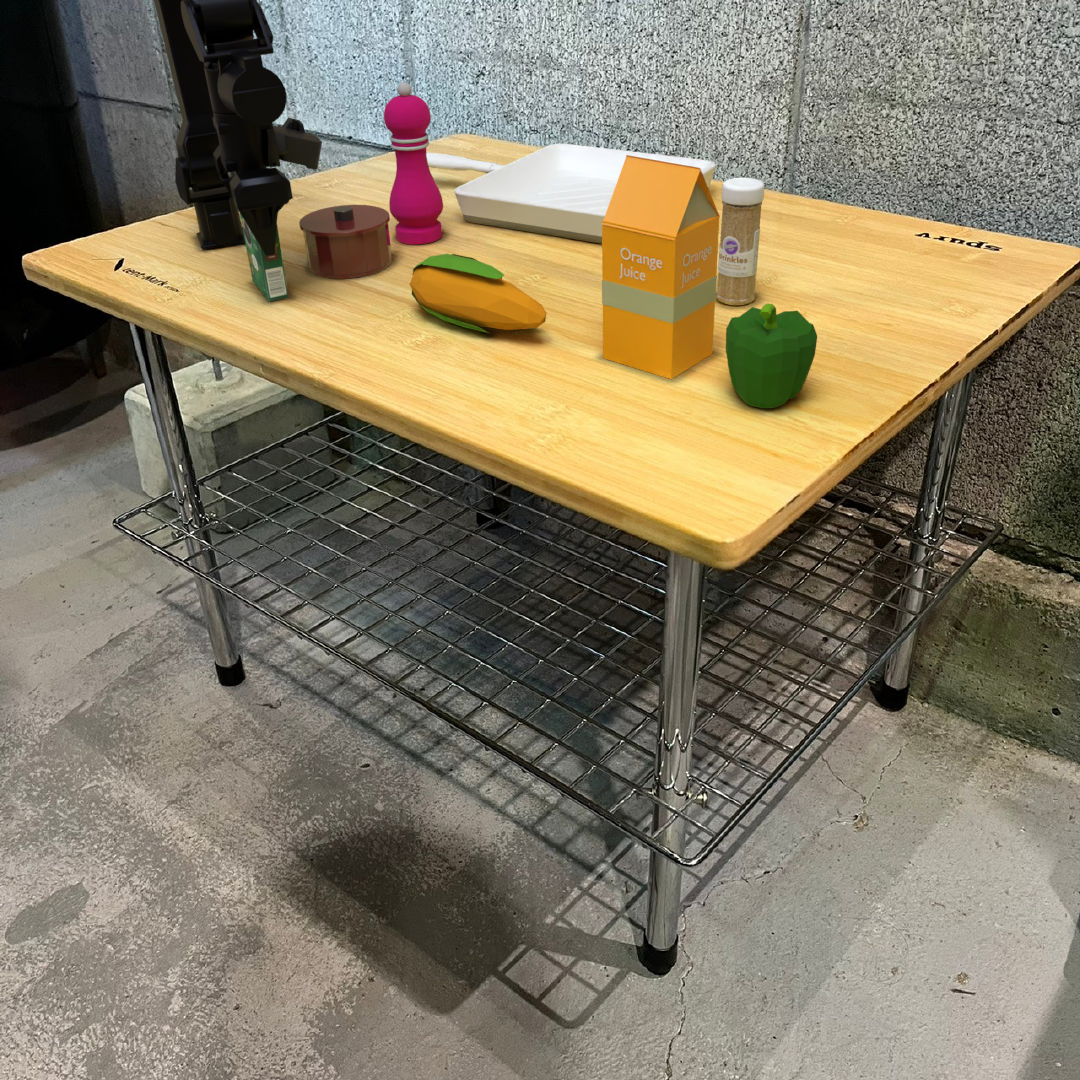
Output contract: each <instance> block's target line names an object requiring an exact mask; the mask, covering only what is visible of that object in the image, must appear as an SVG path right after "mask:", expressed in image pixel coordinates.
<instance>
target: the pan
mask: <svg viewBox="0 0 1080 1080" xmlns="http://www.w3.org/2000/svg"><path fill="white" fill-rule="evenodd" d="M626 155H629V156H635V157H641V158H646V159H652V160H658V161H663V162H669V163H675V164H680V165H686V166H692V167H698V168H700V169H701V172H702V174H703V177H704V179H705V181H706V184H707V186H708V189H709V190H710V186H711V182H712V180H713V177H714V174H715V170H716V167H717V164H716V162H715V161H712V160H707V159H702V158H701V159H699V158H691V157H683V156H675V155H668V154H667V155H666V154H657V153H650V152H649V153H648V152H639V151H632V150H623V149H615V148H607V147H599V146H598V147H597V146H588V145H581V144H573V143H572V144H571V143H563V142H562V143H552V144H548V145H545V146H544V147H541V148H539V149H537V150H534V151H533V152H531V153H528V154H526V155H524V156H522V157H520V158H517V159H516V160H514V161H511V162H509V163H507V164H499V163H498V162H493V161H483V160H477V159H471V158H468V157H463V156H461V155H455V154H448V153H447V154H446V153H438V152H428V151H426V156H427V162H428V166H429V168H431V169H440V170H445V171H456V172H457V171H458V172H462V171H464V172H465V171H474V172H478V173H484V174H483V175H481V176H479V177H476V178H474V179H472V180H469V181H468V182H465V183H463V184H460V185H459V186H457V187H456V188H454V191H453V193H454V195H455V198H456V200H457V204H458V206H459V209H460V212H461V214H462V216H463V218H464V220H465V221H466V222H468V223H471V224H478V225H483V226H489V227H495V228H503V229H508V230H514V231H515V230H516V231H522V232H528V233H533V234H539V235H540V234H541V235H546V236H552V237H553V236H554V237H559V238H565V239H570V240H575V241H576V240H577V241H582V242H588V243H594V244H599V245H602V221H603V220H604V218H605V215H606V212H607V209H608V206H609V204H610V201H611V198H612V195H613V192H614V189H615V187H616V184H617V181H618V178H619V175H620V173H621V170H622V167H623V164H624V161H625V159H626Z"/></svg>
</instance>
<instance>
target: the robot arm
mask: <svg viewBox="0 0 1080 1080" xmlns="http://www.w3.org/2000/svg"><path fill="white" fill-rule="evenodd" d="M153 2H154V7H155V11H156V15H157V19H158V23H159V29H160V31H161V36H162V39H163V40H162V41H163V44H164V48H165V53H166V56H167V61H168V64H169V69H170V73H171V78H172V82H173V85H174V86H173V87H174V90H175V95H176V98H177V103H178V106H179V110H180V115H181V120H182V121H181V124H180V128H179V131H178V134H177V138H176V140H175V148H176V151H177V157H175V175H174V176H175V177H174V179H175V180H174V181H175V186H176V189H177V192H178V196H179V198H180V199H181V200H182V201H183V202H184V203H185V204H186V205H187V206H189V205H192V204H193V207H194V211H195V216H196V220H197V224H198V230H199V232H196V233H195V234H196V239H197V241H198V243H199V246H200V248H201V250H208V249H214V248H221V247H229V246H234V245H235V246H236V245H241V244H246V243H245V238H244V232H243V227H242V222H241V217H240V214H241V216H242V217H243V219H244V221H245V222H246V224H247V225H248V227H249V229H250V230H251V232H252V234H253V235H254V237H255V239H256V240H257V242H258V244H259V245H260V247H261V249H262V250H263V252H264V254H265V255H266V256H270V255H274V254H275V246H276V229H277V227H278V214H279V212H280V210H282V209H283V207H284V206H285V205H288V204H289V202H290V200H292V199H294V197H293V192H292V184H291V181H290V180H289V178H288V177H287V176H286V174H285V173H284V172H282V171H281V170H279V169H278V168H277V167H281V161H282V162H285V163H290V164H295V165H300V166H303V167H305V168H306V169H309V170H318V167H319V162H320V156H321V151H322V146H323V141H322V140H321V139H320V138H319V137H318V136H317V135H315V134H314V133H312V132H306V130H305V127H304V122H302V121H301V120H300V119H296V118H292V117H287V118H286V120H284V122H283V124H282V125H279V124H277V125H274V124H273V123H275V122H276V121H277V120H278V119H280V117H281V116H282V115H283V113H284V112H285V109H286V106H287V98H288V97H287V90H286V86H285V85H284V83H283V82H282V80H281V78H280V77H279V76H278V75H277V74H276V73H275V72H274V71H272V70H271V69H269V68H267V67H265V66H264V64H263V57H262V56H264V55H265V56H266V55H272V54H274V52H275V50H274V46H273V45H274V34H273V32H272V29H271V26H270V25H269V22H268V19H267V16H266V14H265V12H264V10H263V7H262V5H261V4H260V3H259V2H258V0H153ZM255 37H256V38H255ZM190 188H191V189H190Z"/></svg>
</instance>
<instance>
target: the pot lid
mask: <svg viewBox="0 0 1080 1080" xmlns="http://www.w3.org/2000/svg"><path fill="white" fill-rule="evenodd" d="M390 221H391V217H390V212H389V211H388V210H386V209H384V208H382V207H380V206H375V205H368V204H344V205H335V206H329V207H325V208H320V209H317V210H314V211H311V212H309V213H307V214H305V215H304V216H302V217H301V218H300V219H299V221H298V225H299V229H300V230H301V231H302V233H303V232H305V233H307V234H311V235H315V236H323V237H343V236H352V235H359V234H363V233H367V232H371V231H374V230H377V229H379V228H381V227H383V226H385V225H386V224H387V223H388V224H389V222H390Z"/></svg>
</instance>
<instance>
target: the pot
mask: <svg viewBox="0 0 1080 1080" xmlns="http://www.w3.org/2000/svg"><path fill="white" fill-rule="evenodd" d="M302 235H303V240H304V247H305V252H306V258H307V264H308V265H309V266H308V268H309V270H310V272H311V273H312V274H313V275H315V276H318V277H321V278H324V279H326V278H327V279H332V280H333V279H334V280H346V279H357V278H362V277H363V278H364V277H367V276H371V275H375V274H377V273H380V272H382V271H385V270H386V269H387V268H389V267H390V266H391V264H392V261H393V259H392V257H393V254H392V245H391V237H390V230H389V222H388V223H387V224H386V225H385V226H383V227H381V228H379V229H377V230H374V231H371V232H367V233H363V234H359V235H352V236H343V237H323V236H315V235H311V234H307V233H305V232H303V231H302Z"/></svg>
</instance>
